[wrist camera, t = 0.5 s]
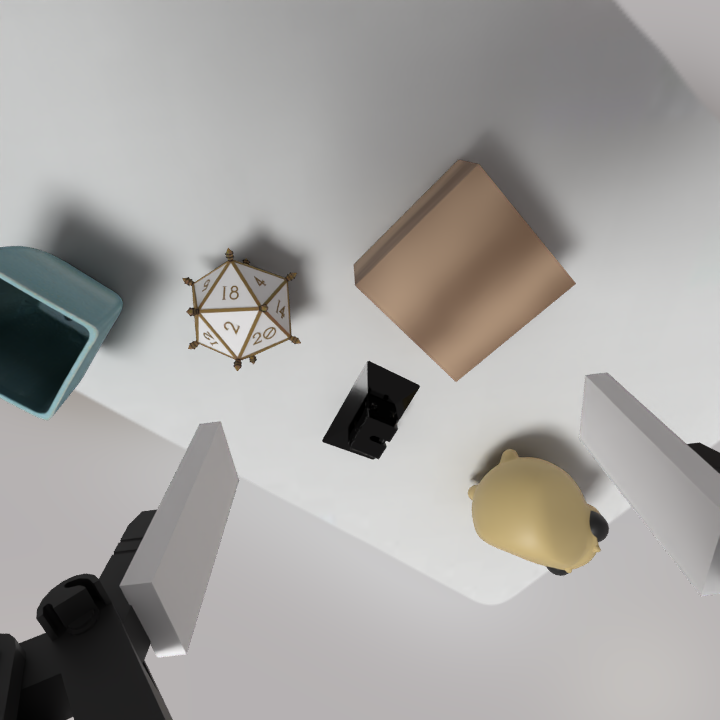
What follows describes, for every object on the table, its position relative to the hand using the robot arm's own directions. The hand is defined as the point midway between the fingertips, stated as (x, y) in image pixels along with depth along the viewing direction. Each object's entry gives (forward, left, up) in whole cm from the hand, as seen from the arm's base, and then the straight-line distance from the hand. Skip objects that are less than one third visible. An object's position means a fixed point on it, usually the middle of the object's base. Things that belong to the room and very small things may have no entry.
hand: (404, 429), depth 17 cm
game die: (-6, -8, -23) cm, 25 cm away
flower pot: (-16, -18, -23) cm, 33 cm away
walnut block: (+4, +5, -23) cm, 24 cm away
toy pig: (+26, -5, -23) cm, 35 cm away
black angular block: (+10, -10, -24) cm, 27 cm away
